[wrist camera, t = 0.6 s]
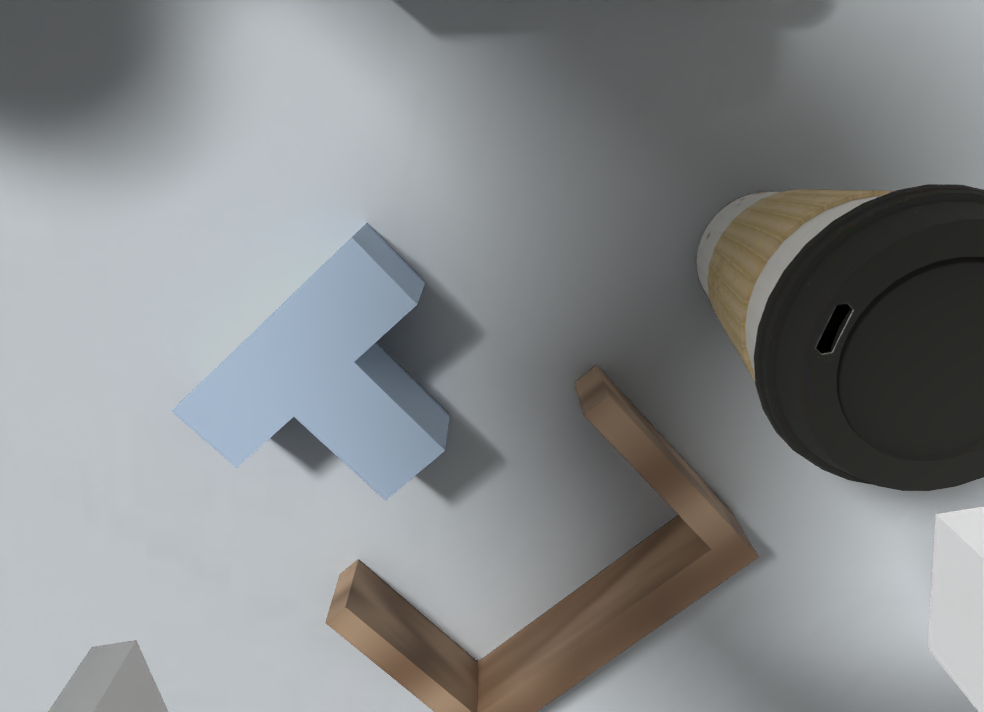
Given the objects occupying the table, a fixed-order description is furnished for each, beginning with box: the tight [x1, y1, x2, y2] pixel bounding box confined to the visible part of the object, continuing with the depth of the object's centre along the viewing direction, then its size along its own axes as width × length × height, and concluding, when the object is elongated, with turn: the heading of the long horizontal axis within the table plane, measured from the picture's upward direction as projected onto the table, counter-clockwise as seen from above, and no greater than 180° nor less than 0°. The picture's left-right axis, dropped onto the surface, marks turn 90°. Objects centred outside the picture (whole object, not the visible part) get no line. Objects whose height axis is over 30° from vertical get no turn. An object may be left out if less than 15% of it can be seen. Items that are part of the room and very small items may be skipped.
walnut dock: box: [325, 365, 759, 712], centre depth 39 cm, size 12×19×4 cm, turn 132°
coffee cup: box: [696, 185, 984, 491], centre depth 28 cm, size 10×10×15 cm
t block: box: [172, 223, 450, 500], centre depth 35 cm, size 10×12×4 cm
